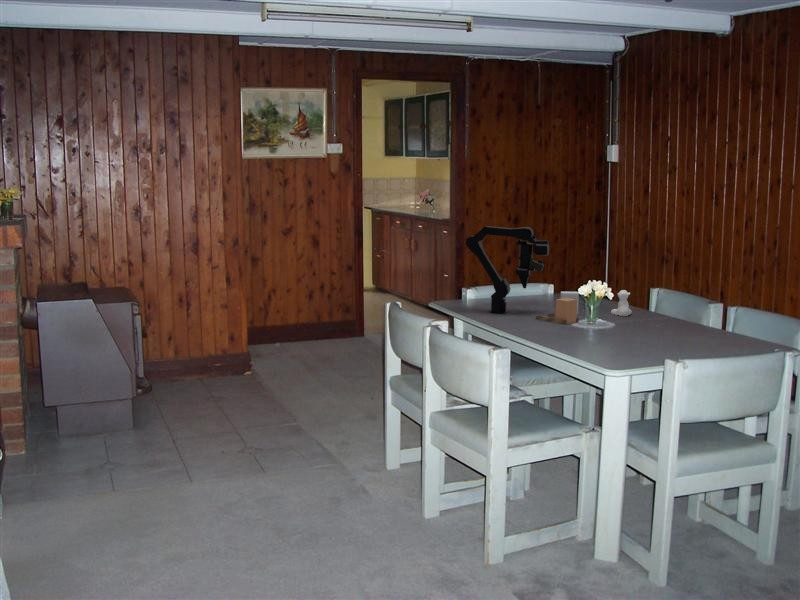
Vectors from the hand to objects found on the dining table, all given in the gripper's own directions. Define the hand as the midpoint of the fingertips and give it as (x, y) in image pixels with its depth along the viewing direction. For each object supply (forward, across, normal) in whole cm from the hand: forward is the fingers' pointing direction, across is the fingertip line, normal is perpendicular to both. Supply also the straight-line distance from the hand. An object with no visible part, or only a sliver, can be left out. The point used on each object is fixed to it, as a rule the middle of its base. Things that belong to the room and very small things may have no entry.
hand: (524, 288), depth 404 cm
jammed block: (+11, -19, -22) cm, 31 cm away
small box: (+12, +6, -20) cm, 24 cm away
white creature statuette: (+12, +13, -44) cm, 48 cm away
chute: (+12, -18, -18) cm, 28 cm away
